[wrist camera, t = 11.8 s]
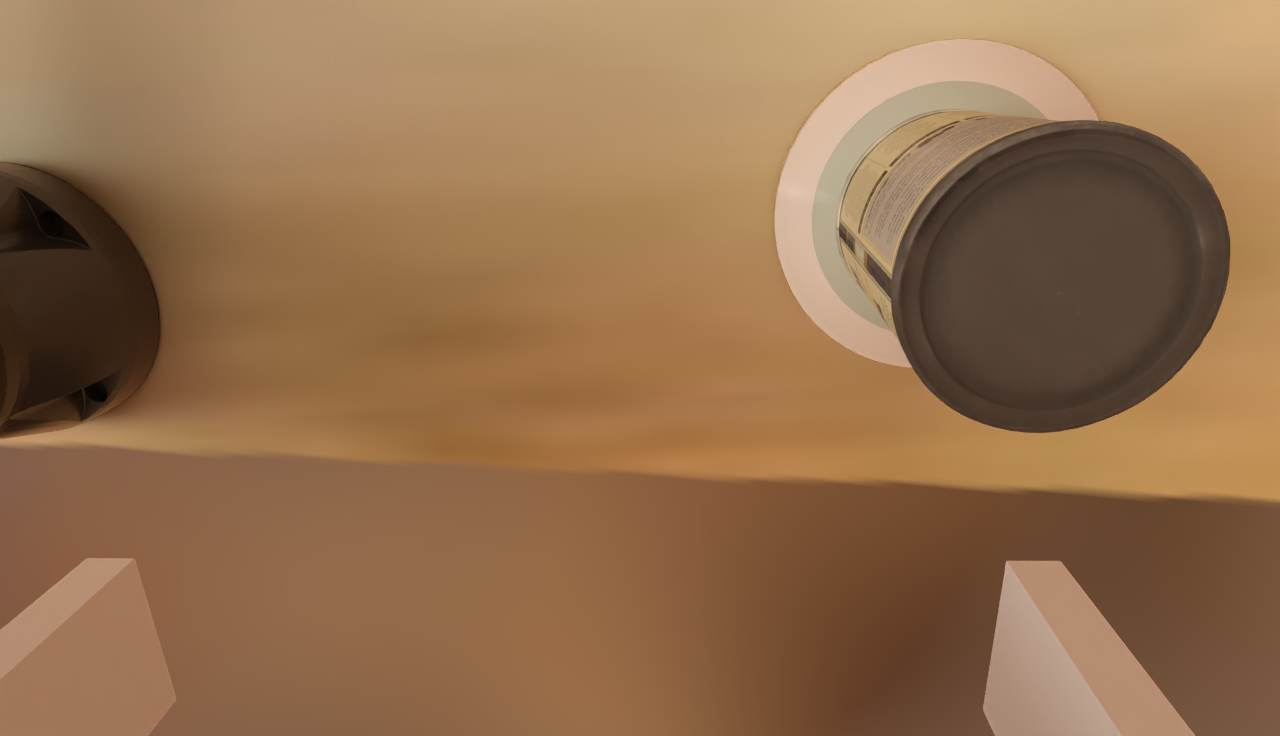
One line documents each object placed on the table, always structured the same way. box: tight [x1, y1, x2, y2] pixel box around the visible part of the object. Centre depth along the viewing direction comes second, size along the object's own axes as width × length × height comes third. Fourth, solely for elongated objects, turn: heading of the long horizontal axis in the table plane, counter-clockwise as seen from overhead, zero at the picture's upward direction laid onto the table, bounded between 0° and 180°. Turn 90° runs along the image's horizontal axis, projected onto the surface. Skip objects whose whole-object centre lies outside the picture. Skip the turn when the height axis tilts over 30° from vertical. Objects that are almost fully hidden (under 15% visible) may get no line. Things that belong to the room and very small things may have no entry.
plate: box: [774, 39, 1099, 368], centre depth 39 cm, size 16×16×1 cm
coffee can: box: [836, 108, 1230, 433], centre depth 32 cm, size 10×10×14 cm
